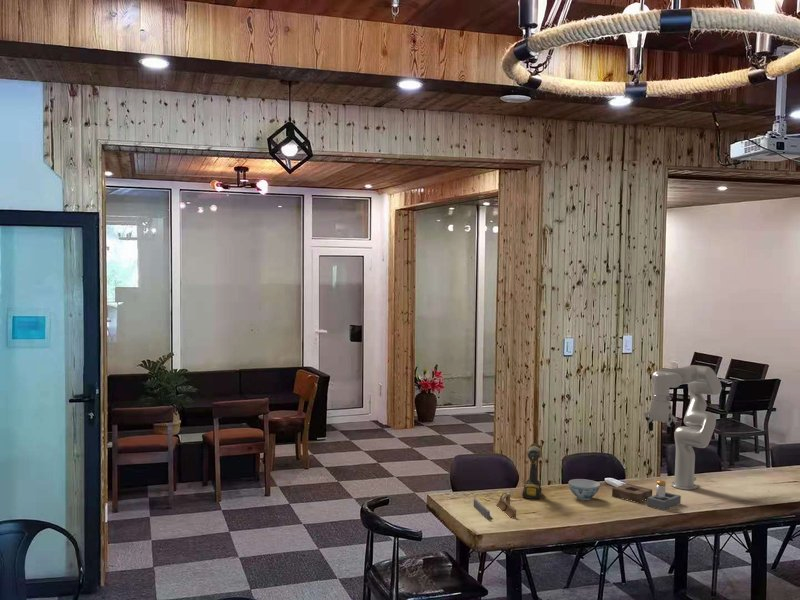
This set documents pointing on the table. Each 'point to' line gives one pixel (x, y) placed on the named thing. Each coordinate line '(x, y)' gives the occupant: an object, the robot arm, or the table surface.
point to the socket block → (631, 492)
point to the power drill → (533, 474)
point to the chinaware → (584, 488)
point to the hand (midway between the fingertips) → (659, 432)
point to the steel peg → (660, 490)
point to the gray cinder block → (664, 501)
